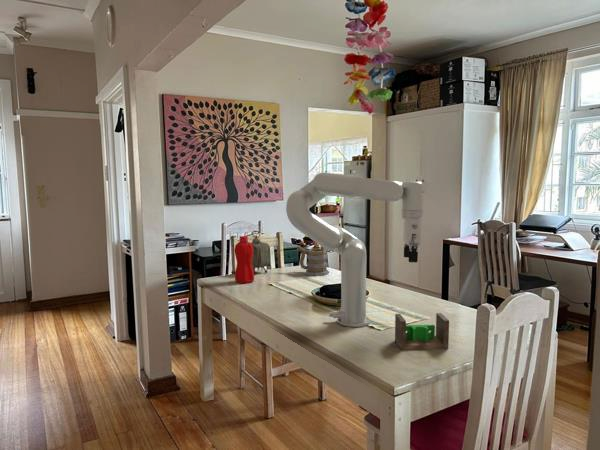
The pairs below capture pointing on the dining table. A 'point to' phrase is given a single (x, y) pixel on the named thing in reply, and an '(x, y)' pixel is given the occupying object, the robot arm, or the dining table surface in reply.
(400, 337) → the bracket
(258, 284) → the dining table surface
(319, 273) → the tankard
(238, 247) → the water bottle
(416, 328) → the pipe clamp
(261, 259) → the grey bag
